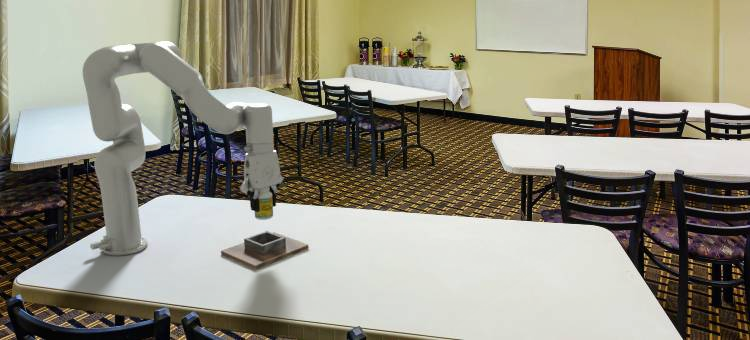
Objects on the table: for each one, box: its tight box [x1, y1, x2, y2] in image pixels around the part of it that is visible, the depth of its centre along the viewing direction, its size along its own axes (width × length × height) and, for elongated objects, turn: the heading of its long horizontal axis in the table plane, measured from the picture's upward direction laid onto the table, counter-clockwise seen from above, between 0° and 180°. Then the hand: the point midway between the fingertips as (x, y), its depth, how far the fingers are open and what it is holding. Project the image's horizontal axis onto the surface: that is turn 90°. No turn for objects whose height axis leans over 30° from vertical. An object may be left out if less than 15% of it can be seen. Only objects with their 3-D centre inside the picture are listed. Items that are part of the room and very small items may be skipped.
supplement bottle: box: [254, 187, 274, 221], centre depth 173 cm, size 5×5×10 cm
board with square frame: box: [220, 230, 310, 270], centre depth 176 cm, size 20×16×4 cm
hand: (263, 207), depth 173 cm, fingers closed on supplement bottle, 5 cm apart
